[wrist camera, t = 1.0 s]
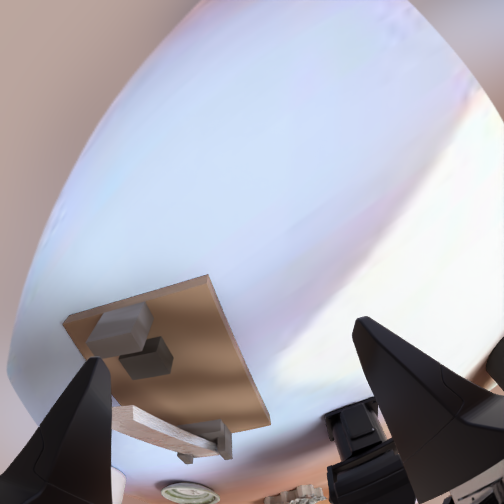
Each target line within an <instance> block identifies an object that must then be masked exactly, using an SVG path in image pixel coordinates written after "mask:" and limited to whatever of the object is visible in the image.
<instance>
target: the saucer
mask: <svg viewBox="0 0 504 504" xmlns="http://www.w3.org/2000/svg"><path fill="white" fill-rule="evenodd" d="M161 494H162V496H163V497H165V498H166V499H168V500H170V501H173V502H176V503H180V504H215V503H217V502H219V501H220V497H219V495H217V494H216V493H215V492H214V491H212V490H211V489H209V488H206V487H204V486H203V485H200V484H197V483H190V482H181V483H177V484H172V485H169V486H167V487H165V488H163V489H162V490H161Z"/></svg>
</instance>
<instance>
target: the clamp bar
mask: <svg viewBox="0 0 504 504" xmlns="http://www.w3.org/2000/svg"><path fill="white" fill-rule="evenodd" d="M112 429H113V430H116V431H118V432H121V433H123V434H126V435H128V436H131V437H133V438H136V439H139V440H142V441H144V442H147V443H150V444H153V445H156V446H159V447H162V448H165V449H169V450H172V451H175V452H179V453H182V454H186V455H190V456H192V457H193V458H197V457H207V456H215V455H220V454H219V453H218V443H213V442H210V441H208V440H205V439H203V438H201V437H198V436H196V435H193V434H191V433H189V432H187V431H184V430H182V429H180V428H178V427H175V426H173V425H171V424H169V423H167V422H165V421H163V420H161V419H159V418H157V417H155V416H153V415H151V414H149V413H147V412H145V411H143V410H141V409H139V408H138V407H136V406H134V405H129V406H119V407H112Z"/></svg>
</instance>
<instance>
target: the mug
mask: <svg viewBox="0 0 504 504" xmlns="http://www.w3.org/2000/svg"><path fill="white" fill-rule="evenodd" d="M486 371H487V372H488V373H489V374H490V376H491V377H492V378H493V379H494V380H495V381H496V383H497V384H498V385H499V386H500V387H501V388H502V390H503V391H504V337H503V338H502V339H501V340H500V341H499V343H498V344H497V345H496V347H495V348H494V350H493V351H492V353H491V355H490V356H489V359H488V361H487V364H486Z"/></svg>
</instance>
